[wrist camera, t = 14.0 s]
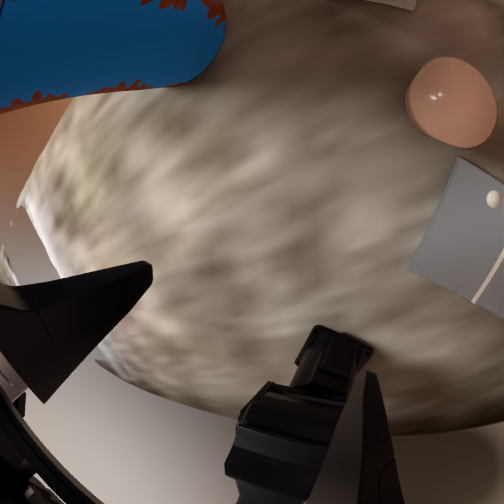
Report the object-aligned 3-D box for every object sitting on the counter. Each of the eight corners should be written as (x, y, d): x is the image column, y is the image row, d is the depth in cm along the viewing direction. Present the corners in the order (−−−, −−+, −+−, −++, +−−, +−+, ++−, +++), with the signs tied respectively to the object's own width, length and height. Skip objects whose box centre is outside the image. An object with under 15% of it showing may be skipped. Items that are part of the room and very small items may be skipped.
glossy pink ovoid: (454, 149, 14) (483, 163, 9) (397, 122, 15) (404, 123, 10) (470, 92, 11) (503, 84, 6) (411, 65, 12) (423, 42, 8)
